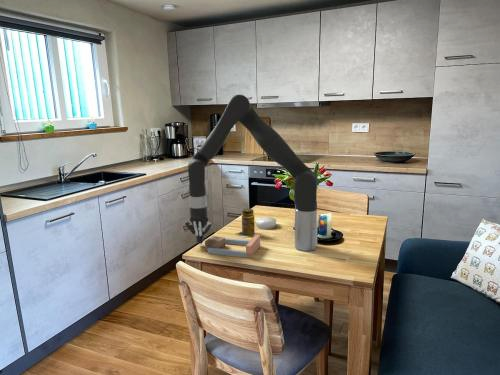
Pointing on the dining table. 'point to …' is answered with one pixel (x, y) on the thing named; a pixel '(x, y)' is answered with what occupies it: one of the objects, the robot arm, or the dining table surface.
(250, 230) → the condiment
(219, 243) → the block
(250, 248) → the guide track
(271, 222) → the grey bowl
